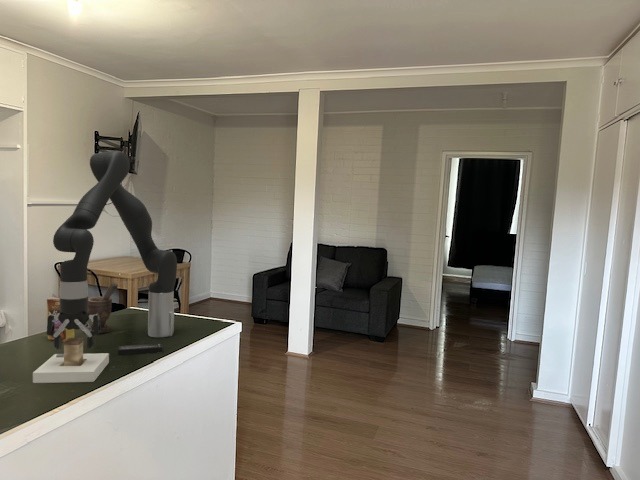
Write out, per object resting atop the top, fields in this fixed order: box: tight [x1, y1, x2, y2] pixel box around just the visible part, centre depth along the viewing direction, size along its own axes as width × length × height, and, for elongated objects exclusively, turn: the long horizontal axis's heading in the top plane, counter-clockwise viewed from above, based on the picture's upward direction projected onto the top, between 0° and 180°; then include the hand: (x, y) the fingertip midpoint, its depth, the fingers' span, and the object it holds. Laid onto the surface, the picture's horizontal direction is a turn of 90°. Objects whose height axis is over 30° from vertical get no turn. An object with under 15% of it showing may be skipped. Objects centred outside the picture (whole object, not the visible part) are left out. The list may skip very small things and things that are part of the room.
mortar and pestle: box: [88, 282, 119, 334], centre depth 180 cm, size 12×9×20 cm
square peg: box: [63, 337, 84, 366], centre depth 139 cm, size 4×4×10 cm
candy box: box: [46, 296, 75, 343], centre depth 169 cm, size 9×4×15 cm, turn 72°
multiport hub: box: [117, 343, 164, 356], centre depth 160 cm, size 4×14×2 cm, turn 110°
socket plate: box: [32, 352, 110, 384], centre depth 139 cm, size 16×16×4 cm
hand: (74, 348), depth 139 cm, fingers open, 8 cm apart
